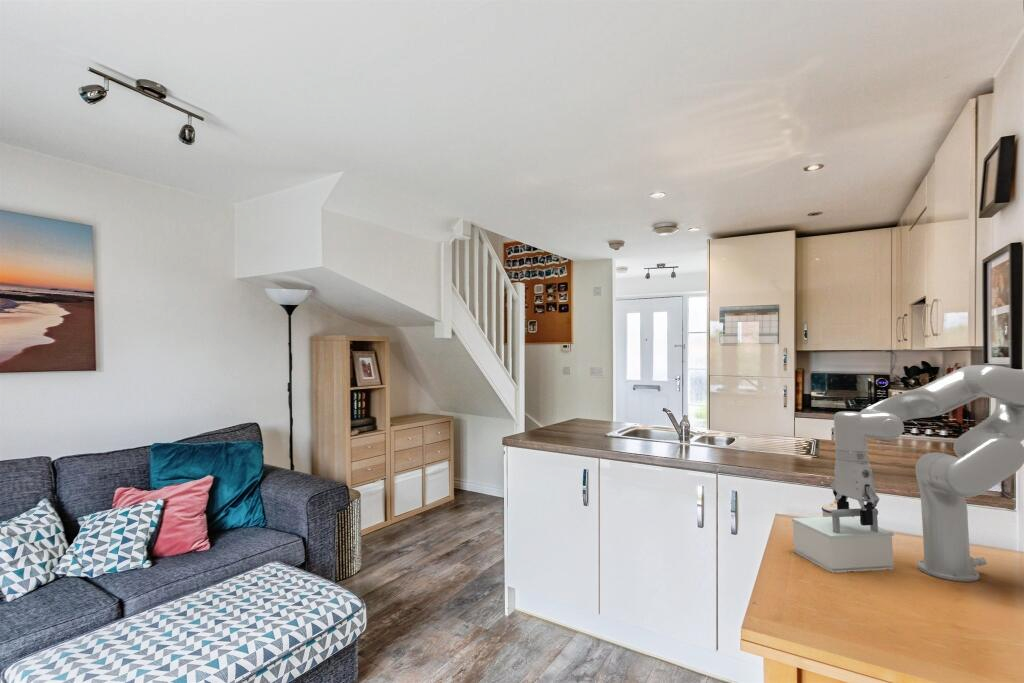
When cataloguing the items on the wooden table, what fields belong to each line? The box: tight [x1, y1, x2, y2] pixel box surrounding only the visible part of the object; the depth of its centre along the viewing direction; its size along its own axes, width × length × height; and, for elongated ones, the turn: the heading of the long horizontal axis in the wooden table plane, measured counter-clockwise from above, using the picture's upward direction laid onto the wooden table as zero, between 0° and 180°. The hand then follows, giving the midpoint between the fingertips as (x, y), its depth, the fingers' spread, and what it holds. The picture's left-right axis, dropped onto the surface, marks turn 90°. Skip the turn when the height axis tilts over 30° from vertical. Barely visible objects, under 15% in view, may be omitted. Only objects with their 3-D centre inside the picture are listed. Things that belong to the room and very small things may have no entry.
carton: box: [792, 521, 894, 574], centre depth 147 cm, size 18×16×9 cm
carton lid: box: [791, 507, 895, 539], centre depth 147 cm, size 18×16×7 cm
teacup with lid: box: [821, 499, 855, 518], centre depth 168 cm, size 12×9×12 cm
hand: (854, 519), depth 142 cm, fingers open, 7 cm apart
